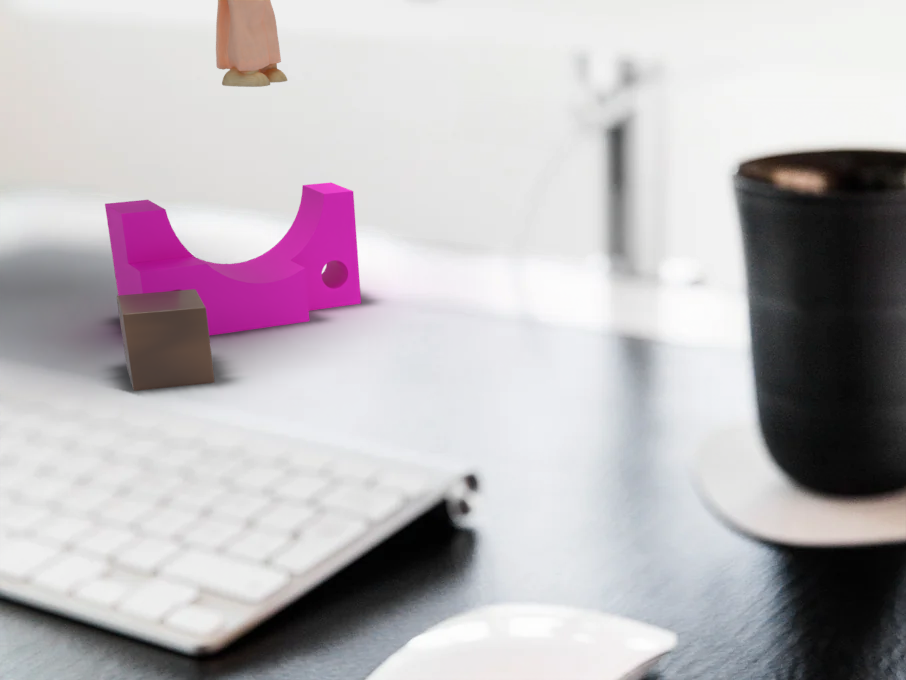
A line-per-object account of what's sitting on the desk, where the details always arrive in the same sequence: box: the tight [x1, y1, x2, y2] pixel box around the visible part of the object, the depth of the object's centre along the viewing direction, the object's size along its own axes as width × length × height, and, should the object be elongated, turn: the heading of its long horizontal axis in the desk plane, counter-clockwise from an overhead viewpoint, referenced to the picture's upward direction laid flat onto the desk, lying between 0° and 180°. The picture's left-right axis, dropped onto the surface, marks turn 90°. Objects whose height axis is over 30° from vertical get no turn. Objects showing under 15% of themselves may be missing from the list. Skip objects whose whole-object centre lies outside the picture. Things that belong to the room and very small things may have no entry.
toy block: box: [104, 182, 362, 337], centre depth 91 cm, size 15×6×8 cm, turn 122°
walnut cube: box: [116, 289, 216, 392], centre depth 80 cm, size 4×4×4 cm
